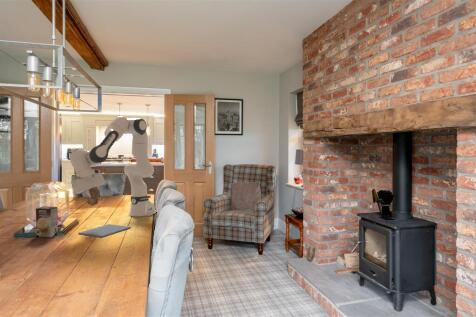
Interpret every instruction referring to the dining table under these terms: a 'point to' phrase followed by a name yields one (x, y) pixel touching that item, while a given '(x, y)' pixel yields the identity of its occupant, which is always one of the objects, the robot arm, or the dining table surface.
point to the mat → (104, 230)
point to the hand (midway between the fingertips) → (94, 195)
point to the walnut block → (93, 196)
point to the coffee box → (46, 221)
